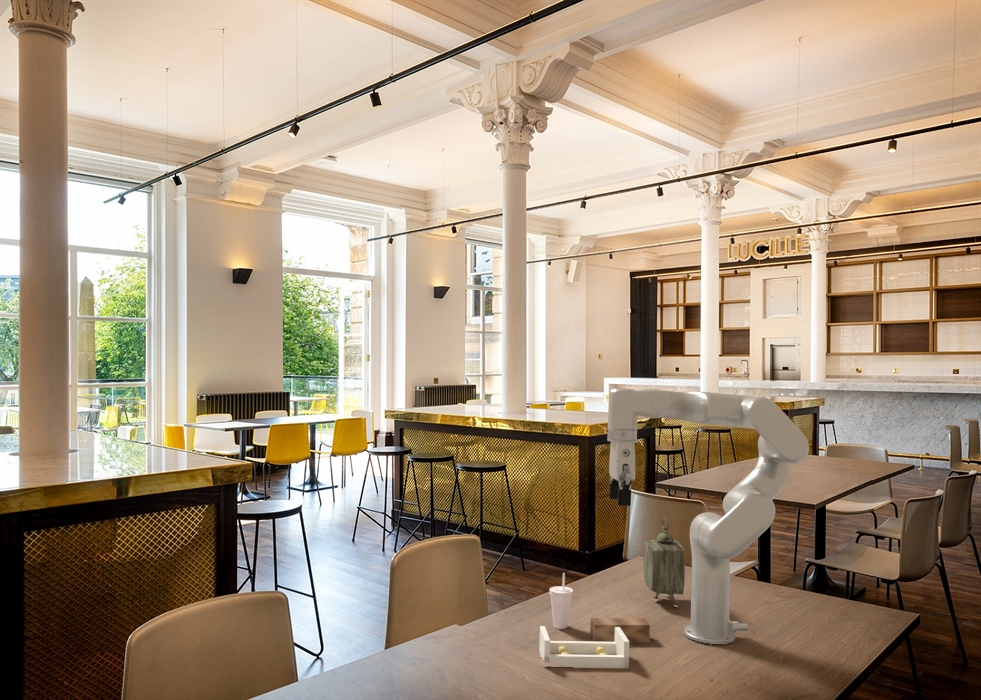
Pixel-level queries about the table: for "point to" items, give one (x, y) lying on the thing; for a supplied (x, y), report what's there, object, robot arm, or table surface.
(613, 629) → the plank
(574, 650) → the frame
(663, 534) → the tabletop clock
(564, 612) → the smoothie
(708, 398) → the robot arm
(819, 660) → the table surface
